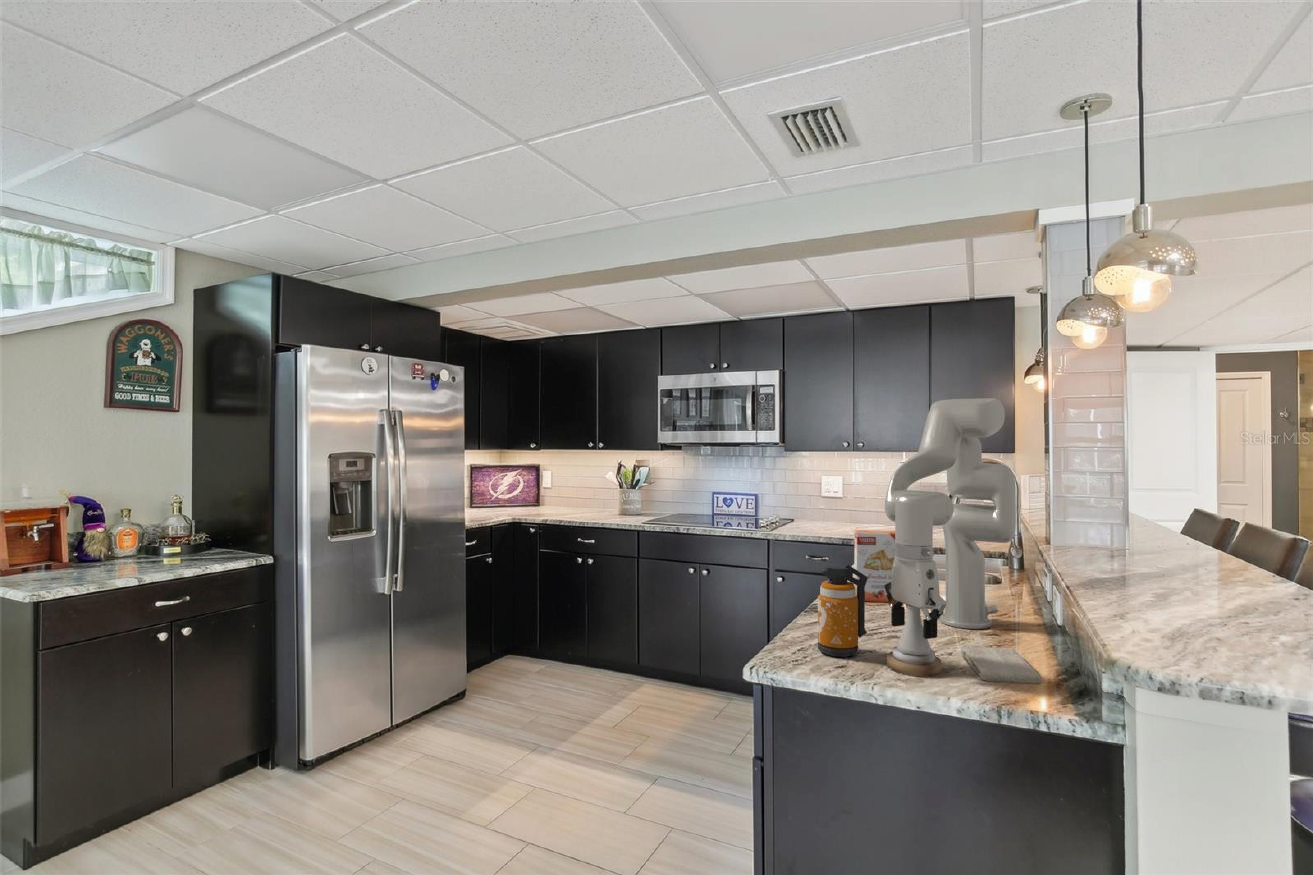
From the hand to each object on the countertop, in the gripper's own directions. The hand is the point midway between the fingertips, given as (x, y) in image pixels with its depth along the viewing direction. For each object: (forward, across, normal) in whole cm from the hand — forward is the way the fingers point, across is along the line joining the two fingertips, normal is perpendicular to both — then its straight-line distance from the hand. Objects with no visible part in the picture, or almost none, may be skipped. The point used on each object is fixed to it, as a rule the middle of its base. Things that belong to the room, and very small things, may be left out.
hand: (913, 631), depth 145 cm
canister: (+8, +14, +8) cm, 18 cm away
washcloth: (+8, -7, -17) cm, 20 cm away
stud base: (+8, 0, 0) cm, 8 cm away
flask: (+4, 0, 0) cm, 4 cm away
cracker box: (+8, +50, -32) cm, 60 cm away
